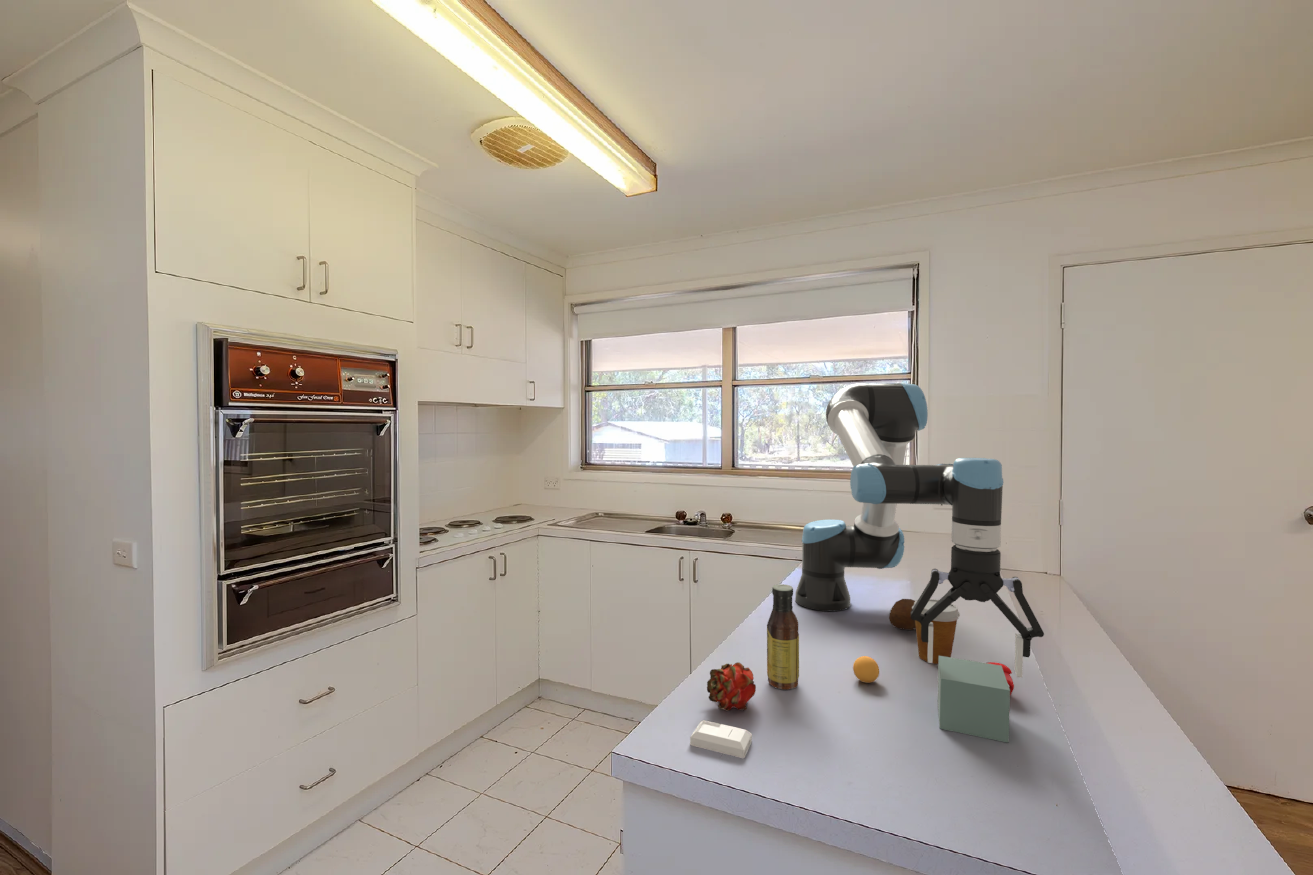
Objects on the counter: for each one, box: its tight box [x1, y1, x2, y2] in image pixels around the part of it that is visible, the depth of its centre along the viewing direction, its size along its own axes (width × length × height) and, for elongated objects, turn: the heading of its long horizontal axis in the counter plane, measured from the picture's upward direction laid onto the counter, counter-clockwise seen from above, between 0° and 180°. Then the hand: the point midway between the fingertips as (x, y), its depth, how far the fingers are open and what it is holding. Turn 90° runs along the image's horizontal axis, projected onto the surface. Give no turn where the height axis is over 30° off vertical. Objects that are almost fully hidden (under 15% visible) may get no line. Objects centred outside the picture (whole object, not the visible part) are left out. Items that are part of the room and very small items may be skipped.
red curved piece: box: [987, 662, 1015, 696], centre depth 112 cm, size 8×6×6 cm
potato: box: [888, 598, 916, 631], centre depth 143 cm, size 7×10×8 cm
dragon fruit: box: [706, 661, 757, 712], centre depth 106 cm, size 8×8×12 cm
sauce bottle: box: [766, 584, 800, 691], centre depth 114 cm, size 7×6×20 cm
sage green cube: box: [936, 656, 1011, 743], centre depth 101 cm, size 10×10×9 cm
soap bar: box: [689, 719, 753, 759], centre depth 94 cm, size 5×9×3 cm, turn 66°
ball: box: [852, 655, 880, 684], centre depth 116 cm, size 5×5×5 cm
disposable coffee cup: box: [912, 598, 961, 665], centre depth 127 cm, size 10×10×12 cm
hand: (972, 667), depth 101 cm, fingers open, 13 cm apart
